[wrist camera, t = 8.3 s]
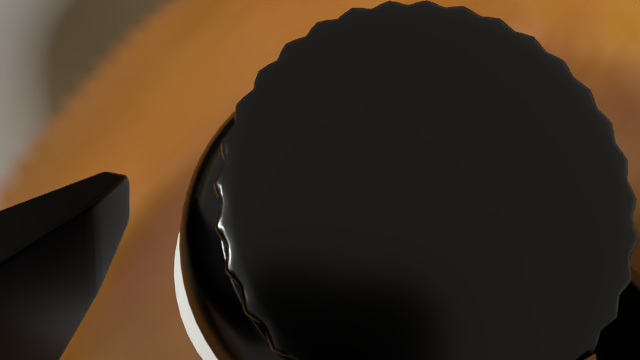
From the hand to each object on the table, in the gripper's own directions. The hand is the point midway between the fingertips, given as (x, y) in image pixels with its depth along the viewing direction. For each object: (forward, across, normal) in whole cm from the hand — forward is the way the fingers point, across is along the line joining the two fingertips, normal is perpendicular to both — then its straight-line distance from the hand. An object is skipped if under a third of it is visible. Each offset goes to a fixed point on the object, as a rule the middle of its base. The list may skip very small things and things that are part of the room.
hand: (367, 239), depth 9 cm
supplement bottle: (+6, 0, +6) cm, 8 cm away
